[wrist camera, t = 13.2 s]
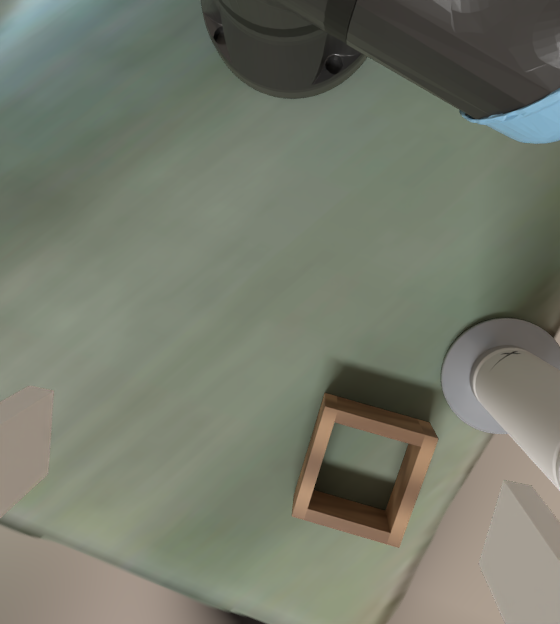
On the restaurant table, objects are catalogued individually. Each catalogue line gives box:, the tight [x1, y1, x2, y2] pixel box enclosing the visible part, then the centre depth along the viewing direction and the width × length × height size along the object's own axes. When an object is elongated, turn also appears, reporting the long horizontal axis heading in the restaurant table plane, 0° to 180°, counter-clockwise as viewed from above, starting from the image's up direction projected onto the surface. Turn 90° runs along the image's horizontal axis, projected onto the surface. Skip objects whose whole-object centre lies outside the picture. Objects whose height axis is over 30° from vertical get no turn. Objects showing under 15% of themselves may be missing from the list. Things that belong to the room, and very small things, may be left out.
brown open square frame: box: [292, 393, 438, 548], centre depth 44 cm, size 11×10×4 cm
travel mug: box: [469, 345, 560, 491], centre depth 33 cm, size 6×7×20 cm
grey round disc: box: [441, 318, 560, 434], centre depth 43 cm, size 11×11×1 cm
